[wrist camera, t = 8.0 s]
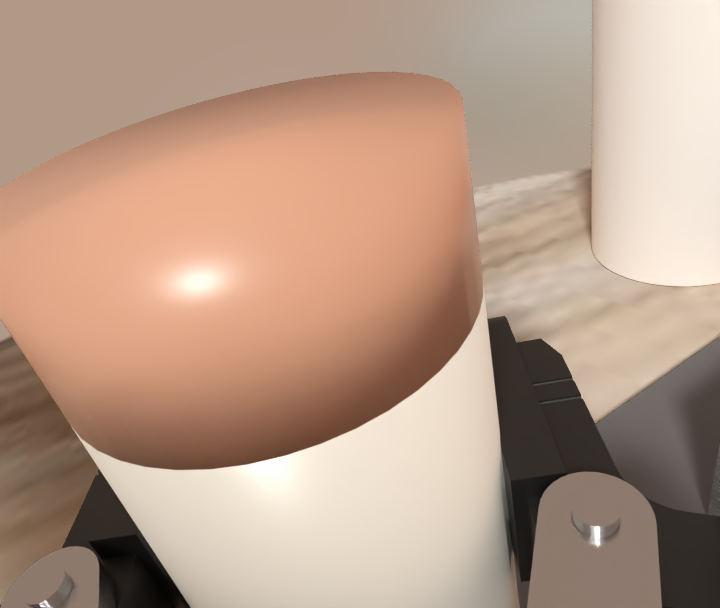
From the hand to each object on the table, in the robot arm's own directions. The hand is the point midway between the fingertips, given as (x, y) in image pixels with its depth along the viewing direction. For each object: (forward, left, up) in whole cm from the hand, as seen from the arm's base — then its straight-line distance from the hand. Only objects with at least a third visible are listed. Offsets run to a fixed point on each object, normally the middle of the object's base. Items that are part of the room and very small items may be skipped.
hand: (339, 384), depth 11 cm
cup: (-9, +23, -10) cm, 26 cm away
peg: (+2, -1, -9) cm, 9 cm away
